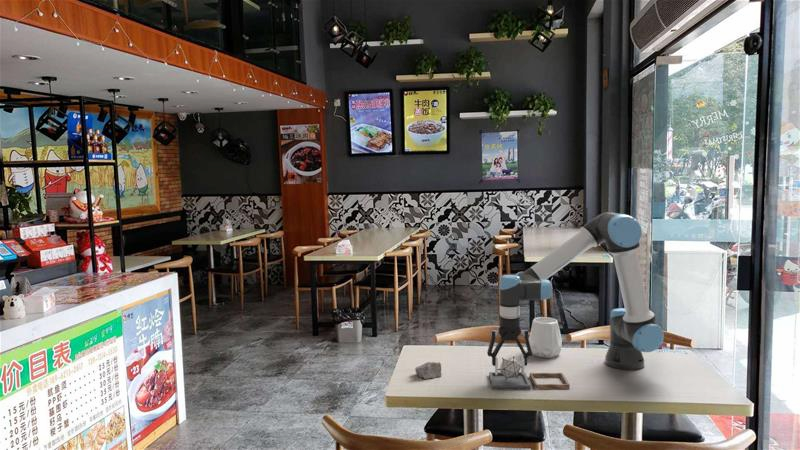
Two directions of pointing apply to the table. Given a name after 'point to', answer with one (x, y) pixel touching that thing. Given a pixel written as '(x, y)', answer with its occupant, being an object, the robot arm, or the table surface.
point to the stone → (429, 370)
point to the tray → (509, 381)
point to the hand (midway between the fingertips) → (509, 373)
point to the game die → (510, 368)
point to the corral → (549, 386)
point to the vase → (545, 337)
